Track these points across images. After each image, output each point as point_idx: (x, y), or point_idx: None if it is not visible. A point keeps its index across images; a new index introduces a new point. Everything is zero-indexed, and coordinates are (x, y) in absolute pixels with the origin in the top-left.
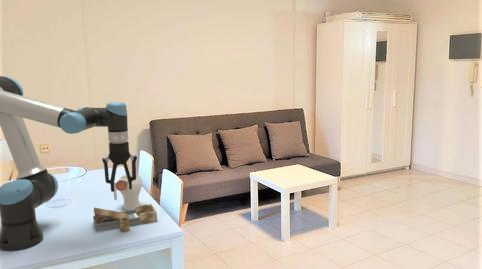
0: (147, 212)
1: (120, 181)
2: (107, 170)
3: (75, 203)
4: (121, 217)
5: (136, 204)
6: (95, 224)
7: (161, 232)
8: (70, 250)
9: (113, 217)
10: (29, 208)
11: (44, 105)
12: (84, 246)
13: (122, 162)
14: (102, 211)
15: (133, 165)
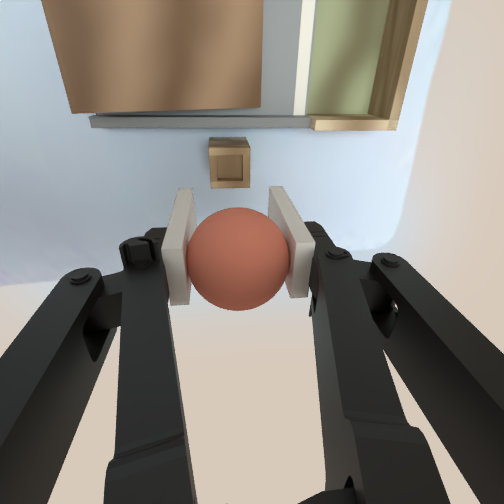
0: (355, 120)
1: (234, 305)
2: (44, 479)
3: None
4: (223, 98)
5: None
6: (91, 121)
7: (342, 233)
8: (39, 252)
9: (180, 109)
10: None
11: None
12: (82, 240)
13: None
14: (107, 32)
15: (472, 473)
